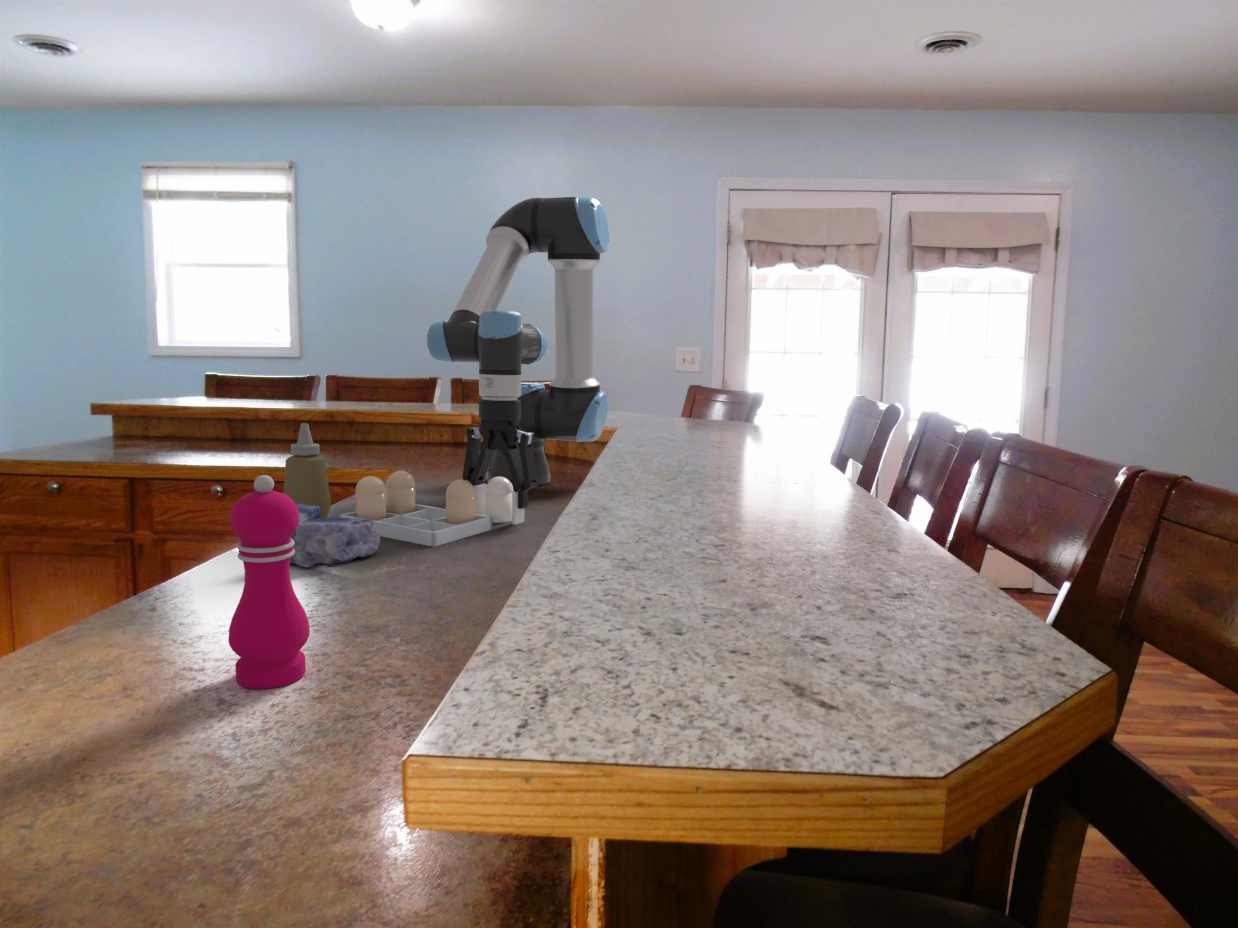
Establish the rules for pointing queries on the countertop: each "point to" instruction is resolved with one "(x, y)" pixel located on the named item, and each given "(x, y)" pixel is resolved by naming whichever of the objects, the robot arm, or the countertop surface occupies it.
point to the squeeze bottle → (307, 474)
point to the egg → (499, 499)
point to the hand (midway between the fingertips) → (499, 522)
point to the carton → (426, 526)
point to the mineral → (331, 538)
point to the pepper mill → (267, 591)
